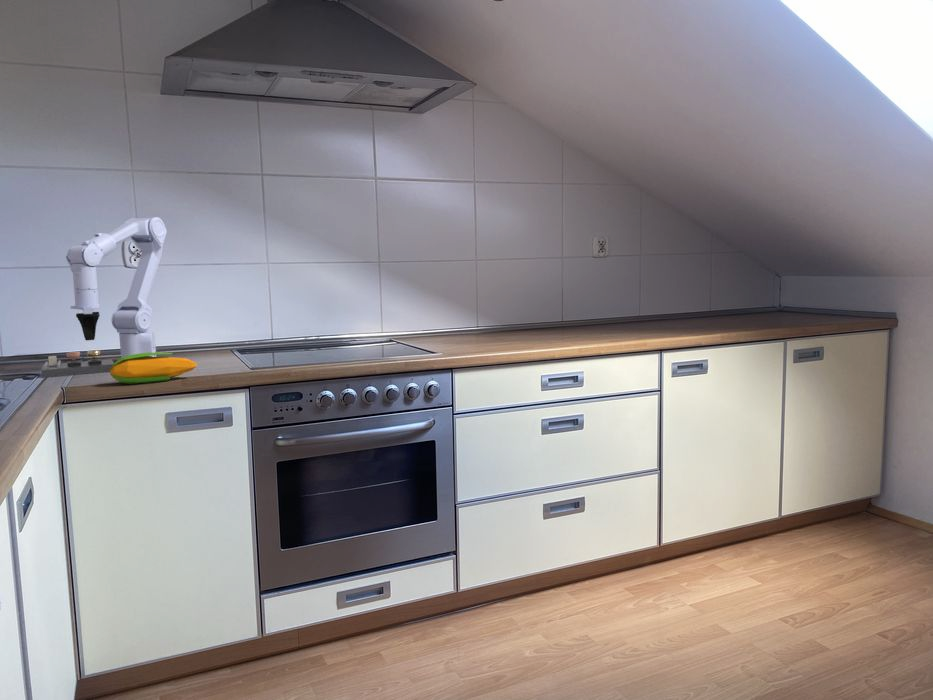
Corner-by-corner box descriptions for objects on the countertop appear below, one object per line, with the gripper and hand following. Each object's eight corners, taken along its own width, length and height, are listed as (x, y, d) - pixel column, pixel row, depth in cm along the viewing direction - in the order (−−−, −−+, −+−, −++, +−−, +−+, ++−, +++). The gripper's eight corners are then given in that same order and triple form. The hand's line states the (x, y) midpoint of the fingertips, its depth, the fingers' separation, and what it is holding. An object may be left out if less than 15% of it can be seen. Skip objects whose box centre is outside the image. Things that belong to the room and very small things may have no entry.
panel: (112, 366, 199) (111, 355, 199) (114, 371, 190) (113, 360, 189) (43, 371, 191) (42, 361, 191) (42, 377, 182) (41, 366, 181)
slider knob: (57, 363, 190) (56, 355, 190) (56, 364, 189) (56, 356, 188) (49, 364, 189) (48, 356, 189) (49, 365, 188) (48, 357, 187)
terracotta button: (80, 358, 192) (79, 351, 191) (80, 360, 189) (79, 352, 189) (67, 359, 190) (66, 352, 190) (67, 361, 187) (66, 353, 187)
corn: (107, 352, 171) (193, 346, 180) (110, 382, 172) (195, 374, 182) (109, 358, 164) (198, 351, 174) (111, 389, 166) (200, 380, 176)
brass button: (100, 357, 194) (100, 349, 194) (101, 358, 191) (100, 351, 191) (87, 358, 193) (87, 350, 192) (87, 359, 190) (87, 352, 189)
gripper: (69, 289, 194) (73, 337, 195) (68, 290, 181) (72, 342, 183) (98, 288, 197) (101, 336, 199) (99, 289, 184) (102, 340, 186)
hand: (89, 339), depth 191 cm, fingers open, 7 cm apart
